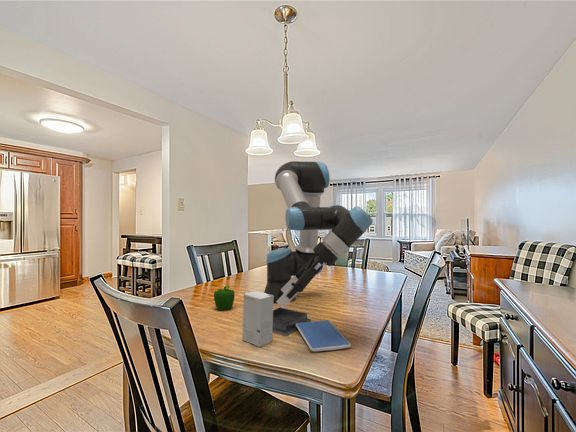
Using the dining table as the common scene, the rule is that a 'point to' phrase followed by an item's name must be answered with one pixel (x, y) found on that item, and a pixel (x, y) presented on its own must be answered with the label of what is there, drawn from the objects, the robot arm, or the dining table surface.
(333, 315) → the dining table surface
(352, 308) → the dining table surface
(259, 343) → the skincare box
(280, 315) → the square metal tray
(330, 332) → the tablet computer
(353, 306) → the dining table surface
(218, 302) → the bell pepper
